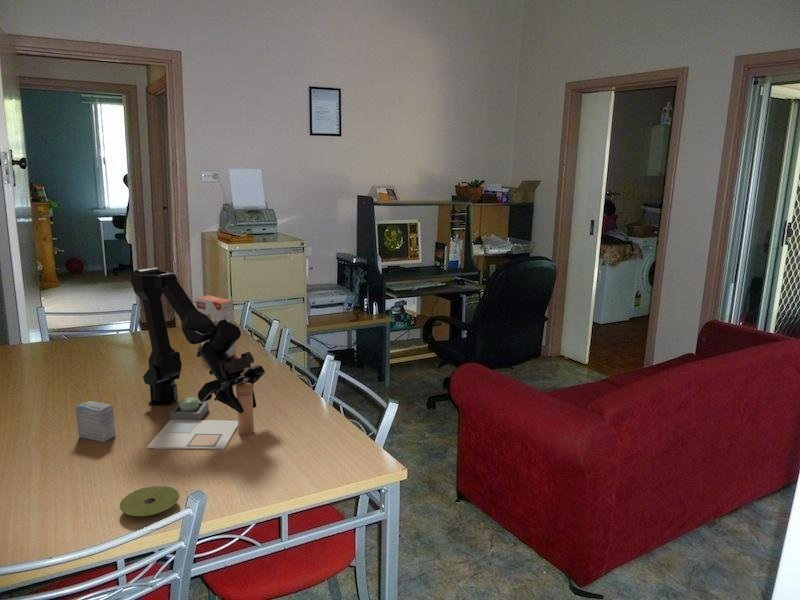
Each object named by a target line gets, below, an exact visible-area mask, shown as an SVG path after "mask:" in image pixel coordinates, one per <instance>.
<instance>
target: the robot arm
mask: <svg viewBox="0 0 800 600" xmlns="http://www.w3.org/2000/svg"><path fill="white" fill-rule="evenodd" d="M130 283H131V285H132V289H133V292H134V294H135V295H137V297H138V298H139V299H140V300H141V302H142V305H143V310H144V314H145V315H144V316H145V320H146V325H147V331H148V334H149V339H150V345H151V352H150V355H149V357H148V369H147V370H146V372H145V373H144V375H142V378H143V381H144V384H145V385H149V393H150V394H149V395H150V400H149V401H148V405H153V406H154V405H158V406H159V405H160V406H161V405H162V406H163V405H164V406H166V405H167V406H169V405H172V404H173V403H174V402H175V401H176V400H177V399H178V397H179V395H178V384H176V380H179V379H180V376H181V371H182V365H183V363H182V361H181V354H180V352H179V351H175V350H174V348H172V347H171V344H170V343H171V341H170V337H169V332H168V327H167V322H166V318H165V317H166V316H165V312H164V308H163V302H162V295H164V297H165V299H166V300H167V302H168V303H169V304H170V305H171V308H172V309H173V310H174V312H175V313H176V315H177V316H178V318H179V319H180V321H181V331H182V333H183V335H184V337H185V339H186V340H187V342H188V343H189V344H191V345H199V343H202V342H206V341H208V342H206V343H204V345H203V346H200V347H199V346H197V352H196V358H201V357H203V359H204V361H205V362H206V364H207V365H208V367H209V369H210V370H209V371H208V373H209V375H210V376H212V375H213V376H214V377H215V379H214V380H210V381H209V382H205V384H203V386H202V387H201V388H200V390H198V392H197V399H198V400H199V402H201V403H203V402H209V401H210V400H212V396H213V394H214V395H215V398H213V400H214V401H215V402H217V401H218V402H220V403H222V404H224V405H226V406H228V407H230V408H231V409H233V410H234V411H236V412H237V411H238V412H239V413H243V412H244V411H243V408H242V406H241V405H240V403H239V401H238V400H237V395H235V392H234V386H235V387H236V385H237V384H239V383H251V384H253V385H254V384H256V383H257V382H258V381H259V380H260V379H261V378H262V377H263V376H264V374H265V373H266V370H265V369H264V367H263V366H262V365H259V364H258V365H253V366H252V365H251V364H254V363H255V359H254V356H253V355H252V353H251V351H248V352H247V351H246V352H244V353H241V355H240V357H238V358H237V359H236V358H235V356H231V357H229V355H228V354H227V351H229V350H230V349H231V347H232V346H233V345H234V344H235V345H236V343H237V341H238V340H239V339H240V338H241V335H242V333H241V332H242V331H241V329H240V328H239V326H237V325H236V324H235V323H234V324H232V323H229V322H227V320H226V319H224V320H220V321H219V322H218V323H217V325H216V324H214V323H213V322H212V321H211V320H210V319H209V317H208V316H207V315H205V314H203V313H201V312H199V311H198V310H197V306H195V305H194V303H193V301H192V300H191V298H190V297H189V296H188V294H187V293H186V291H185V289H184V288H183V287H182V286H181V284H180V282H179V281H178V277H177V275H176V274H175V273H174V272H169V271H167V270H160V269H159V268H158V267H154V266H153V267H149V268H147V267H146V268H139V269H136V270H134V271H133V272H132V275H130ZM209 340H210V341H209ZM245 369H246V371H245ZM243 373H244V374H243ZM256 407H257V402H256V395H255V391H254V389H253V409H255V408H256Z"/></svg>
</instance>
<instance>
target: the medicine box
mask: <svg viewBox="0 0 800 600" xmlns="http://www.w3.org/2000/svg"><path fill="white" fill-rule="evenodd" d="M113 408H114V407H113V405H112V404H109V403H102V402H98V401H91V400H88V401H85V402H83V403H81V404H78V405H76V407H75V413H76V414H75V415H76V421H77V422H76V423H77V431H78V438H81V439H85V440H91V441H95V442H99V443H105V442H107V441H108V440H111V439H112V438H113V437H116V435H117V434H116V425H115V416H114V410H113Z"/></svg>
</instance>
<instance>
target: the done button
mask: <svg viewBox="0 0 800 600" xmlns="http://www.w3.org/2000/svg"><path fill="white" fill-rule="evenodd" d="M179 402H180V412H197V411H198V410H199V402H200V400H199V398H198V397H191V396H190V397H186V398H185V397H184V398H182V399H180V401H179Z"/></svg>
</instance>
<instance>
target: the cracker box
mask: <svg viewBox="0 0 800 600" xmlns="http://www.w3.org/2000/svg"><path fill="white" fill-rule="evenodd" d="M195 302H196V303H195V304H196V309H197V310H198V311H199V312H201V313H203V314H205V315H207V316H208V317H209V319H210V320H211V321H212V322H213V323H214V324H216V325H217V323H218V322H219V321H220V320H224V319H226V320H227V322H229V323H232V324H234V325H235V315H234V300H230V299H227V298H222V297H218V296H215V295H214V296H213V295H207V294H206V295H202V296H198V297H196V298H195ZM209 341H210V340H209ZM206 342H208V341H206ZM206 342H202V343H199V344H198V347H200V346H203V345H204V343H206ZM227 354H228V355H229V357H232V356H233V357H235V356H236V343H235V344H234V345H233V346H232V347H231V349H230V350H229V351H227Z"/></svg>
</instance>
